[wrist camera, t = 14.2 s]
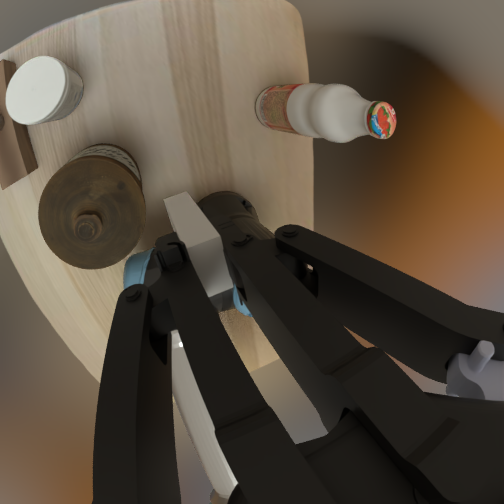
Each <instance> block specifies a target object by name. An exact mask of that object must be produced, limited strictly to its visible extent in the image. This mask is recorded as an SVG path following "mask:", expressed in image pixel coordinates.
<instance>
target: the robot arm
mask: <svg viewBox="0 0 504 504" xmlns="http://www.w3.org/2000/svg"><path fill="white" fill-rule="evenodd" d="M163 200H164V203H165V206H166V209H167V212H168V216H169V219H170V222H171V225H172V228H173V231H174V232H173V233H170V234H168V235H165V236H162V237H160V238H158V239H157V241H156V243H155V246H156V248H151V249H150V250H148V251H144V252H140V253H137V254H133V255H131V256H130V257H129V258H128V259H127V261H126V264H125V267H124V277H123V284H124V290H123V291H122V292H121V294H120V295H119V298H118V301H117V305H116V309H115V313H114V317H113V321H112V325H111V330H110V334H109V339H108V343H107V348H106V354H105V359H104V364H103V370H102V376H101V382H100V389H99V396H98V404H97V413H96V423H95V436H94V451H93V502H92V504H181V494H180V487H179V479H178V470H177V461H176V450H175V437H174V420H173V399H172V394H173V396H174V399H175V402H176V405H177V407H178V410H179V412H180V415H181V417H182V420H183V423H184V425H185V427H186V430H187V432H188V435H189V437H190V439H191V442H192V444H193V446H194V448H195V450H196V453H197V455H198V457H199V459H200V461H201V463H202V465H203V468H204V469H205V472H206V474H207V476H208V478H209V480H210V481H211V483H212V486H213V487H214V488H213V490H212V491H211V493H210V501H211V502H210V504H504V313H500V312H496V311H491V310H487V309H482V308H478V307H473V306H469V305H466V304H464V303H462V302H460V301H459V300H457V299H455V298H453V297H451V296H449V295H447V294H445V293H443V292H441V291H439V290H437V289H435V288H433V287H432V286H429V285H427V284H425V283H424V282H422V281H420V280H418V279H416V278H413V277H411V276H409V275H407V274H405V273H403V272H401V271H399V270H397V269H395V268H393V267H391V266H389V265H387V264H384V263H382V262H380V261H378V260H376V259H374V258H372V257H369V256H367V255H365V254H363V253H361V252H359V251H357V250H354V249H352V248H350V247H348V246H345V245H343V244H341V243H339V242H336V241H334V240H332V239H330V238H327V237H325V236H323V235H321V234H318V233H316V232H314V231H311V230H309V229H307V228H304V227H302V226H299V225H291V224H289V225H284V226H282V227H279V228H278V229H277V230H276V231H275V233H274V234H275V235H274V234H273V233H272V232H270V231H269V230H268V229H267V228H266V227H264V226H263V225H262V224H261V223H260V222H259V219H258V216H257V213H256V211H255V209H254V207H253V206H252V205H251V203H250V202H249V201H247V200H246V199H245V198H244V197H242V196H241V195H239V194H236V193H233V192H217V193H214V194H211V195H209V196H207V197H205V198H204V199H202V200H201V201H200V202H199V203H198V204H196V203H195V202H194V200H193V199H192V198H191V196H190V195H189V194H188V192H187V191H185V192H183V193H180V194H177V195H174V196H171V197H168V198H166V199H163ZM308 265H310V266H312V267H313V270H311V269H309V268H308ZM233 308H236V309H237V310H238V311H239V312H241V313H243V314H244V315H248V316H250V317H253V318H254V319H255V321H256V322H257V324H258V325H259V327H260V328H261V330H262V331H263V333H264V334H265V336H266V337H267V339H268V340H269V342H270V343H271V345H272V346H273V348H274V349H275V351H276V352H277V354H278V355H279V357H280V358H281V360H282V361H283V362H284V364H285V365H286V367H287V368H288V370H289V371H290V373H291V374H292V376H293V377H294V378H295V380H296V381H297V383H298V384H299V386H300V387H301V388H302V390H303V391H304V393H305V394H306V395H307V397H308V398H309V400H310V401H311V402H312V404H313V405H314V407H315V408H316V410H317V411H318V413H319V415H320V418H321V420H322V423H323V425H324V426H325V428H326V429H327V431H328V432H329V433H328V434H327V435H325V436H323V437H320V438H317V439H313V440H310V441H306V442H303V443H299V444H295V443H294V442H293V440H292V439H291V437H290V436H289V434H288V432H287V431H286V429H285V428H284V426H283V425H282V423H281V421H280V420H279V418H278V417H277V415H276V414H275V412H274V411H273V409H272V408H271V407H270V406H268V404H267V403H266V401H265V400H264V398H263V396H262V395H261V393H260V391H259V390H258V388H257V386H256V385H255V383H254V381H253V379H252V378H251V376H250V374H249V372H248V370H247V369H246V367H245V365H244V363H243V362H242V360H241V358H240V356H239V354H238V352H237V351H236V349H235V347H234V345H233V343H232V341H231V340H230V338H229V336H228V334H227V332H226V330H225V328H224V326H223V324H222V322H221V320H220V317H219V314H218V313H219V312H223V311H226V310H230V309H233ZM344 326H345V327H346V328H348V329H349V330H351V331H353V332H354V333H356V334H357V335H359V336H361V337H362V338H364V339H365V340H367V341H368V342H370V343H372V344H373V345H375V346H376V347H370V348H366V347H364V346H362V345H361V344H360V343H359V342H358V341H357V340H356V339H355V338H354V337H353V336H352V335H351V334H350V332H349V331H348V330H347V329H346V328H345V327H344ZM377 347H378V348H377ZM385 352H386V353H387V354H389V355H391V356H392V357H394V358H395V359H397V360H398V361H400V362H402V363H403V364H405V365H406V366H408V367H410V368H411V369H413V370H414V371H416V372H418V373H420V374H422V375H423V376H425V377H428V378H430V379H432V380H435V381H438V382H441V383H445V384H447V387H446V393H447V395H440V394H434V393H428V392H423V391H422V390H421V389H420V388H419V387H418V386H417V385H416V384H415V383H414V382H413V380H411V379H410V377H409V376H408V375H406V373H405V372H404V371H403V370H402V369H401V368H400V367H399V366H398V365H397V364H396V363H395V362H394V361H393V360H392V359H391V358H390V357H389V356H388V355H387V354H386V353H385ZM457 396H459V397H457Z"/></svg>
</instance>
